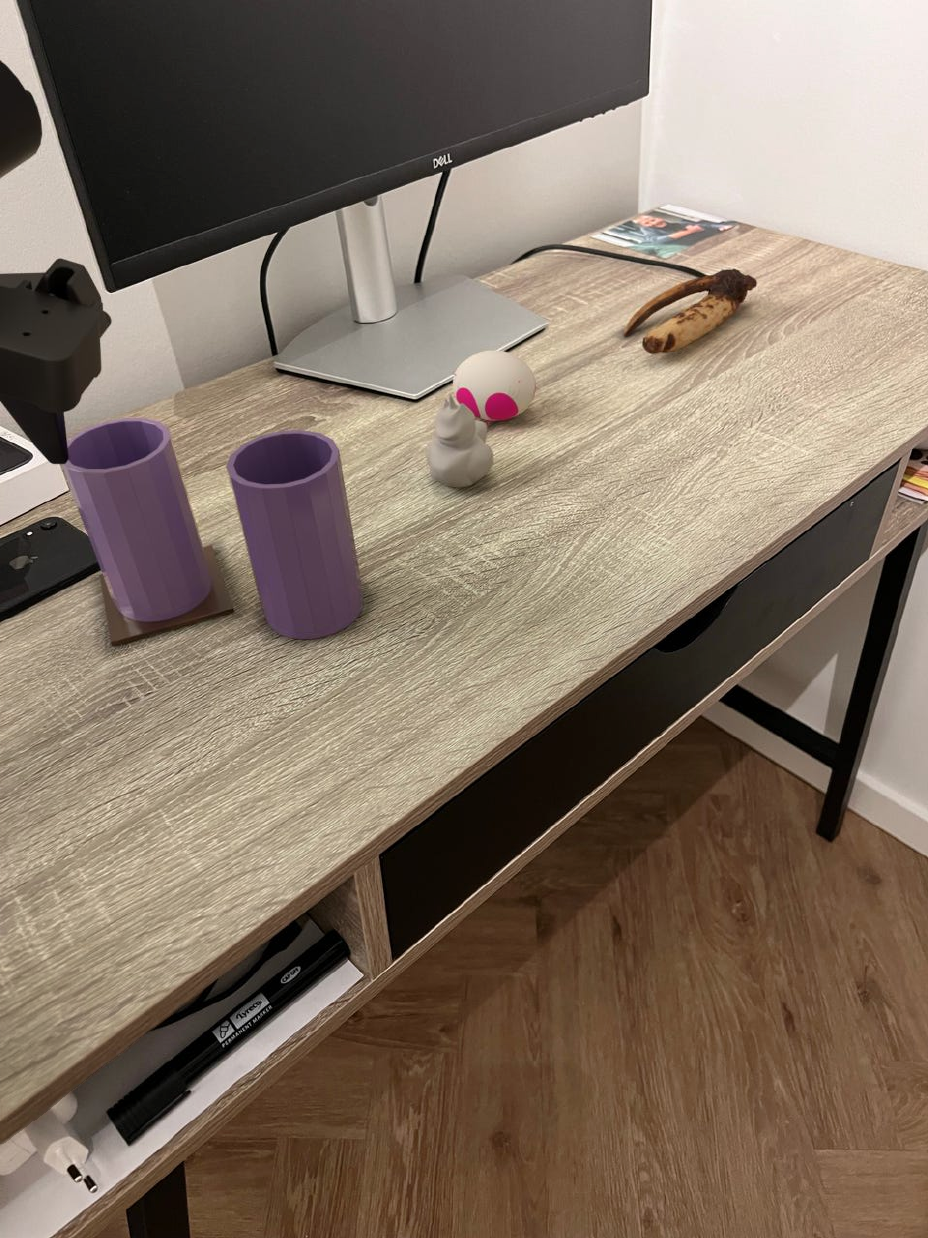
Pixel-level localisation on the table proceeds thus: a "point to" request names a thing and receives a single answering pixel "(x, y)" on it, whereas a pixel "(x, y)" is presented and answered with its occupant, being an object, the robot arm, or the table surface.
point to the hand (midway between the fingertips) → (25, 512)
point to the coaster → (207, 609)
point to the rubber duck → (458, 447)
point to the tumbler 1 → (138, 517)
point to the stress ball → (494, 385)
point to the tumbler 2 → (298, 532)
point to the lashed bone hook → (693, 310)
